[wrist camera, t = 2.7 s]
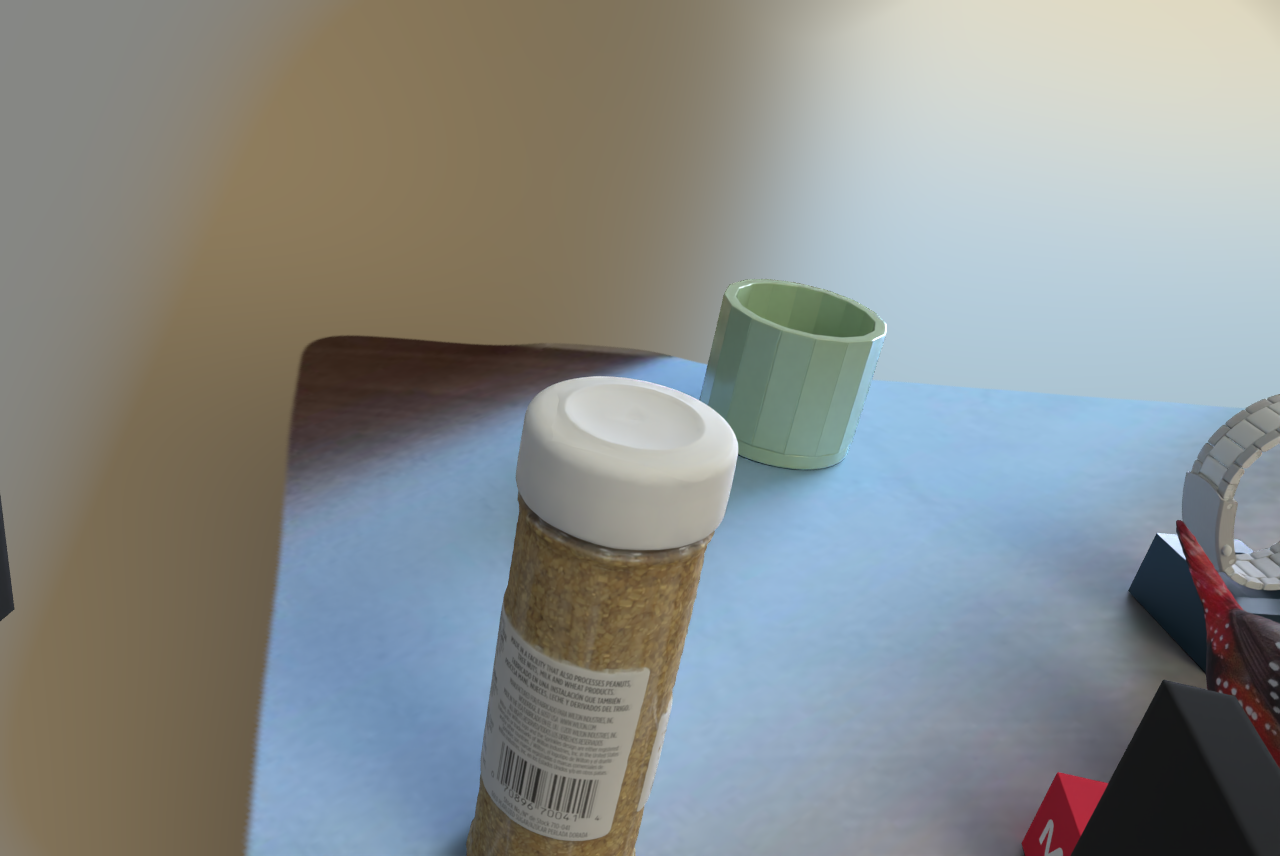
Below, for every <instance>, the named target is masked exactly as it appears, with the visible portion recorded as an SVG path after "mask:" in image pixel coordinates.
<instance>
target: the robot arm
mask: <svg viewBox="0 0 1280 856" xmlns="http://www.w3.org/2000/svg"><path fill="white" fill-rule="evenodd" d="M13 610H14V603H13V594H12V586H11V578H10V570H9V562H8V554H7V546H6V538H5V529H4V521H3V513H2V506H1V497H0V621H1V620H2V619H3V618H5V617H6V616H7V615H8V614H9V613H10V612H11V611H13ZM1070 856H1280V769H1279V767H1278V765H1277V764H1276V762H1275V760H1274V759H1273V757H1272V755H1271V754H1270V752H1269V750H1268V749H1267V747H1266V745H1265V744H1264V742H1263V741H1262V739H1261V737H1260V736H1259V734H1258V732H1257V731H1256V729H1255V727H1254V726H1253V724H1252V722H1251V721H1250V719H1249V717H1248V716H1247V714H1246V713H1245V711H1244V709H1243V708H1242V706H1241V704H1240V703H1239V701H1238V699H1237V698H1236V696H1233V695H1228V694H1224V693H1219V692H1215V691H1211V690H1206V689H1202V688H1198V687H1193V686H1189V685H1184V684H1180V683H1176V682H1171V681H1167V680H1163V681H1162V683H1161V685H1160V687H1159V689H1158V690H1157V692H1156V694H1155V696H1154V698H1153V700H1152V702H1151V704H1150V706H1149V708H1148V709H1147V711H1146V713H1145V715H1144V717H1143V719H1142V721H1141V723H1140V725H1139V726H1138V728H1137V730H1136V732H1135V734H1134V736H1133V738H1132V740H1131V742H1130V744H1129V745H1128V747H1127V749H1126V751H1125V753H1124V755H1123V757H1122V759H1121V761H1120V762H1119V764H1118V766H1117V768H1116V770H1115V772H1114V774H1113V776H1112V778H1111V780H1110V781H1109V783H1108V785H1107V787H1106V789H1105V791H1104V793H1103V795H1102V797H1101V798H1100V800H1099V802H1098V804H1097V806H1096V808H1095V810H1094V812H1093V814H1092V816H1091V817H1090V819H1089V821H1088V823H1087V825H1086V827H1085V829H1084V831H1083V833H1082V835H1081V836H1080V838H1079V840H1078V842H1077V844H1076V846H1075V848H1074V850H1073V852H1072V853H1071V855H1070Z"/></svg>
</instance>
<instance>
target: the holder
mask: <svg viewBox="0 0 1280 856" xmlns="http://www.w3.org/2000/svg"><path fill="white" fill-rule="evenodd" d="M885 336H886V323H885V322H884V321H883V320H882V319H881V318H880V317H879V316H878V315H877V314H876V313H875V312H874V311H872V310H870V309H868V308H867V307H865V306H863V305H861V304H859V303H858V302H856V301H854V300H852V299H849V298H847V297H844V296H841V295H839V294H836V293H833V292H831V291H828V290H824V289H820V288H816V287H812V286H808V285H804V284H800V283H795V282H786V281H779V280H771V279H770V280H769V279H752V280H743V281H740V282H737V283H734V284H730V285H729V286H728V288H727V289H726V291H725V293H724V296H723V301H722V305H721V309H720V314H719V318H718V322H717V327H716V331H715V335H714V340H713V344H712V348H711V353H710V357H709V361H708V366H707V370H706V374H705V379H704V383H703V387H702V392H701V396H700V400H699V401H701V402H703V403H704V404H706V405H708V406H709V407H711V408H712V409H713V410H715V411H716V412H717V413H718V414H719V415H721V416H722V417H723V418H724V419H725V420H726V422H727V423H728V424H729V425H730V427H731V428H732V430H733V432H734V434H735V436H736V439H737V442H738V455H741V456H743V457H745V458H748V459H751V460H754V461H757V462H760V463H763V464H768V465H772V466H776V467H782V468H789V469H802V470H810V469H822V468H826V467H830V466H833V465H836V464H838V463H839V462H841V461H842V460H843V459H844V458H845V457H846V456H847V454H848V451H849V448H850V445H851V444H852V442H853V439H854V435H855V432H856V429H857V426H858V423H859V419H860V416H861V413H862V410H863V407H864V403H865V400H866V397H867V394H868V391H869V388H870V384H871V381H872V378H873V375H874V372H875V368H876V365H877V362H878V358H879V356H880V352H881V349H882V346H883V343H884V339H885Z"/></svg>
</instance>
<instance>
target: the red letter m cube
mask: <svg viewBox="0 0 1280 856" xmlns="http://www.w3.org/2000/svg"><path fill="white" fill-rule="evenodd" d="M1107 785H1108V783H1104V782H1100V781H1095V780H1091V779H1086V778H1082V777H1077V776H1073V775H1068V774H1064V773H1059V772H1058V773H1057V774H1056V776H1055V778H1054V780H1053V782H1052V784H1051V786H1050V788H1049V790H1048V792H1047V794H1046V796H1045V798H1044V800H1043V802H1042V804H1041V806H1040V808H1039V810H1038V812H1037V814H1036V816H1035V818H1034V820H1033V822H1032V824H1031V826H1030V828H1029V830H1028V832H1027V834H1026V836H1025V838H1024V840H1023V842H1022V846H1023V850H1024V853H1025V856H1070V855H1071V853H1072V852H1073V850H1074V848H1075V846H1076V844H1077V842H1078V840H1079V838H1080V836H1081V835H1082V833H1083V831H1084V829H1085V827H1086V825H1087V823H1088V821H1089V819H1090V817H1091V816H1092V814H1093V812H1094V810H1095V808H1096V806H1097V804H1098V802H1099V800H1100V798H1101V797H1102V795H1103V793H1104V791H1105V789H1106V787H1107Z"/></svg>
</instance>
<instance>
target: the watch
mask: <svg viewBox="0 0 1280 856" xmlns="http://www.w3.org/2000/svg"><path fill="white" fill-rule="evenodd" d="M1225 424H1226V425H1222V426H1221V427H1220V428H1219V429H1218V430H1217V431H1216V432H1215V433H1214V434H1213V435H1212V437H1211V438H1210V439H1209V440H1208V443H1206V444H1205V445H1204V446H1203V448H1202V449H1201V451H1200V453H1199V454H1198V457H1197V458H1198V459H1199V460H1198V459H1197V460H1195V462H1194V465H1193V468H1192V471H1191V472H1189V471H1187V473H1186V477H1185V482H1184V488H1183V497H1182V519H1183V522H1184V523H1185V525H1186V526H1187V528H1188V529H1189V530H1190V531H1191V533H1192V534H1193V535H1194V536H1195V538H1196V540H1197V542H1198V544H1199V545H1200V546H1201V547H1202V549H1203V550H1204V552H1205V554H1206V555H1207V557H1208V558H1209V560H1210V561H1211V563H1212V564H1213V566H1214V568H1215V570H1216V571H1217V572H1218V574H1219V575H1220V577H1221V578H1222V580H1223V581H1224V583H1225V585H1226V586H1227V588H1228V590H1229V591H1230V592H1231V593H1232V595H1233V597H1234V598H1235V600H1236V601H1237V603H1238V604H1239V605H1240V606H1241V608H1242V609H1243V610H1244V611H1246V612H1249V613H1252V614H1254V615H1258V616H1262V617H1264V618H1267V619H1270V620H1272V621H1275V622H1278V623H1280V541H1279V542H1278V543H1276V544H1274V545H1272V546H1271V547H1270V549H1268V548H1265V549H1262V550H1259V551H1255V552H1254V551H1253V550H1251V549H1250V548H1249V547H1248V546H1247V545H1245V544H1244V543H1243V542H1242V541H1241V540H1237V539H1234V523H1235V516H1236V510H1237V506H1238V503H1237V502H1236V501H1235V500H1234V499H1233V498H1234V495H1235V491H1236V489H1237V486H1238V484H1239V482H1240V480H1239V479H1240V478H1241V477H1242V475H1243V474H1244V472H1245V471H1244V469H1243V468H1248V467H1249V466H1250V465H1251V464H1252V463H1253V462H1255V461H1256V460H1257V459H1258V458H1259V457H1260V456H1261V455H1262V452H1261V451H1263V452H1266V451H1268V450H1269V449H1271V448H1272V447H1274V446H1276V445H1277V444H1279V443H1280V394H1278V395H1274V396H1271V397H1269V398H1267V400H1266V399H1262V400H1260V401H1258V402H1256V403H1254V404H1252V405H1250V406H1248V407H1247V408H1246V409H1245V410H1242V411H1240V412H1239V413H1237V414H1236V415H1235V416H1233V417H1232V418H1231V419H1229V420H1228V421H1227V422H1226V423H1225ZM1228 427H1229V428H1228ZM1229 438H1230V439H1231V440H1230V439H1229ZM1232 440H1233V441H1234V442H1235V443H1234V442H1233V441H1232ZM1209 443H1210V444H1211V445H1210V444H1209ZM1236 443H1237V444H1238V445H1237V444H1236ZM1212 445H1213V446H1214V447H1213V446H1212ZM1239 445H1240V446H1241V447H1242V448H1241V447H1240V446H1239ZM1243 448H1244V449H1245V450H1244V449H1243ZM1258 448H1259V449H1258ZM1216 459H1217V460H1216ZM1220 462H1221V463H1220ZM1224 465H1225V466H1224ZM1240 466H1241V467H1242V468H1241V467H1240ZM1228 468H1229V469H1228ZM1129 592H1130V593H1131V594H1132V595H1133V596H1134V597H1135V598H1136V599H1137V601H1138V602H1139V603H1140V604H1141V605H1142V606H1143V607H1144V608H1145V609H1146V610H1147V611H1148V612H1149V613H1150V614H1151V615H1152V616H1153V617H1154V619H1155V620H1156V621H1157V622H1158V623H1159V624H1160V625H1161V626H1162V627H1163V628H1164V629H1165V630H1166V631H1167V632H1168V633H1169V634H1170V635H1171V636H1172V638H1173V639H1174V640H1175V641H1176V642H1177V643H1178V644H1179V645H1180V646H1181V647H1182V648H1183V649H1184V650H1185V651H1186V652H1187V653H1188V654H1189V656H1190V657H1191V658H1192V659H1193V660H1194V661H1195V662H1196V663H1197V664H1198V665H1199V666H1200V667H1201V668H1202V669H1203V670H1204V671H1205V672H1206V655H1207V631H1206V623H1205V617H1204V612H1203V607H1202V604H1201V601H1200V598H1199V596H1198V593H1197V590H1196V586H1195V585H1194V582H1193V579H1192V576H1191V573H1190V570H1189V567H1188V564H1187V562H1186V558H1185V555H1184V554H1183V550H1182V547H1181V544H1180V541H1179V539H1178V535H1173V534H1160V533H1157V534H1156V536H1155V538H1154V540H1153V542H1152V544H1151V546H1150V548H1149V550H1148V552H1147V554H1146V556H1145V558H1144V560H1143V562H1142V564H1141V566H1140V568H1139V570H1138V572H1137V574H1136V576H1135V578H1134V580H1133V582H1132V584H1131V586H1130V589H1129Z"/></svg>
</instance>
